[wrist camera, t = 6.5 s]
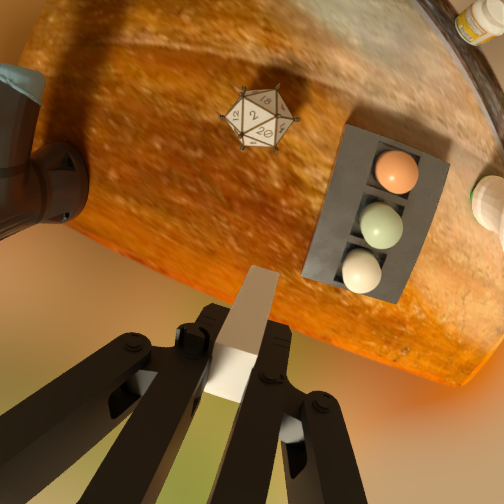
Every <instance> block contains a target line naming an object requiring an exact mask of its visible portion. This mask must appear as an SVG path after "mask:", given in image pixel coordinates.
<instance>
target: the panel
mask: <svg viewBox="0 0 504 504" xmlns="http://www.w3.org/2000/svg"><path fill="white" fill-rule="evenodd" d="M389 150H394V151H400V152H404V153H407V154H408V155H410V156H411V157H412V158H413V159H414V161H415V162H416V164H417V167H418V180H417V182H416V184H415V186H414V187H413V188H412V189H411V190H410V191H408V192H406V193H403V194H396V193H392V192H390V191H388V190H387V189H386V188H384V187H383V186H382V185H381V184H380V183H379V182H378V181H377V179H376V177H375V174H374V164H375V161H376V159H377V158H378V156H379V155H380V154H381V153H383V152H385V151H389ZM449 167H450V164H449V163H447V162H445V161H443V160H441V159H438V158H436V157H434V156H432V155H429V154H427V153H425V152H422V151H420V150H417V149H415V148H413V147H410V146H408V145H405V144H403V143H400V142H397V141H395V140H392V139H389V138H387V137H384V136H381V135H379V134H376V133H373V132H370V131H367V130H364V129H361V128H358V127H355V126H352V125H349V124H345V125H344V126H343V130H342V134H341V138H340V141H339V145H338V149H337V152H336V156H335V160H334V163H333V167H332V170H331V174H330V177H329V181H328V184H327V188H326V191H325V194H324V198H323V201H322V205H321V208H320V211H319V215H318V218H317V221H316V224H315V228H314V231H313V234H312V237H311V240H310V243H309V247H308V250H307V253H306V256H305V259H304V262H303V266H302V273H301V276H302V277H306V278H309V279H312V280H316V281H319V282H322V283H326V284H329V285H332V286H336V287H339V288H343V289H346V290H349V289H348V288H347V287H346V285H345V283H344V280H343V273H342V261H343V258H344V257H345V255H346V254H347V253H348V252H350V251H351V250H353V249H356V248H364V249H367V250H369V251H371V252H372V253H373V254H374V255H375V257H376V259H377V261H378V264H379V266H380V269H381V280H380V282H379V284H378V285H377V286H376V287H375V288H374V289H373V290H371V291H370V292H367V293H359V294H363V295H366V296H370V297H373V298H376V299H380V300H383V301H386V302H390V303H393V304H397V302H398V300H399V298H400V296H401V294H402V292H403V290H404V288H405V285H406V283H407V281H408V279H409V277H410V274H411V272H412V270H413V267H414V265H415V263H416V260H417V258H418V256H419V253H420V251H421V248H422V246H423V243H424V241H425V238H426V236H427V233H428V230H429V228H430V225H431V222H432V220H433V217H434V214H435V211H436V208H437V206H438V203H439V200H440V197H441V194H442V190H443V187H444V184H445V181H446V178H447V174H448V171H449ZM374 202H383V203H386V204H388V205H389V206H390V207H391V208H392V209H393V210H394V211H395V212H396V213H397V214H398V215H399V216H400V218H401V220H402V223H403V232H402V235H401V238H400V239H399V241H398V242H397V243H396V244H395V245H393V246H392V247H390V248H387V249H377V248H374V247H372V246H371V245H369V244H368V243H367V241H366V240H365V238H364V236H363V233H362V231H361V229H360V225H359V218H360V214H361V212H362V211H363V209H364V208H365V207H366V206H367V205H369V204H371V203H374ZM349 291H351V290H349Z"/></svg>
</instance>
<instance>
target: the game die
mask: <svg viewBox="0 0 504 504" xmlns="http://www.w3.org/2000/svg"><path fill="white" fill-rule="evenodd" d="M279 87H280V83H279V84H276V86H275V89H258V90H246V87H244V86H242V90H243V91H244V92H243V93H242V92H239V96H240V97H239V98H238V100H237V101H236V102H235V103H234V105H233V106H232V107H231V109H230V110H229V111H228V113H227V114H226V115H225V116H223V115H220V116H219V117H218V118H219V119H226V121H227V122H228V124H229V125H230V127H231V128H232V130H233V131H234V133H235V134H236V136H237V137H238V139H239V140H240V142H241V143H242V146H241V147H240V151H242V150H244V148H245V146H258V147H273V148H274V149H273V150H274V152H276V153H278V150H279V149H277V147H276V145H277V144H278V142H279V141H280V140H281V138H282V137H283V135H284V134H285V132H286V131H287V130H288V128H289V127H290V125H291V124H292V123H293V121H296V122H297V121H298V122H299V121H300V120H301V119H300V118H299V117H298V118H297V117H296V118H294V117H293V115H292V114H291V112H290V110H289V109H288V107H287V105H286V103H285V102H284V100H283V98H282V97H281V95H280V93H279V92H278V89H279Z"/></svg>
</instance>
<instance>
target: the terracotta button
mask: <svg viewBox="0 0 504 504" xmlns="http://www.w3.org/2000/svg"><path fill="white" fill-rule="evenodd" d="M374 174H375V177H376V179H377V181H378V182H379V183H380V184H381V185H382V186H383V187H384V188H386V189H387V190H388V191H390V192H392V193H396V194H403V193H406V192H408V191H410V190H411V189H412V188H413V187H414V186H415V184H416V182H417V180H418V167H417V164H416V162H415V161H414V159H413V158H412V157H411V156H410V155H408V154H407V153H404V152H400V151H394V150H389V151H385V152H383V153H381V154H380V155H379V156H378V158H377V159H376V161H375V164H374Z"/></svg>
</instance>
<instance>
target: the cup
mask: <svg viewBox="0 0 504 504" xmlns="http://www.w3.org/2000/svg"><path fill="white" fill-rule="evenodd" d="M470 199H471V204H472V211H473V213H474V217H475V219H476V221H477V222H478V223H480V224H481V225H482V226H484V227H485V228H487V229H489V230H491V231H494V232H495V233H496V234H497V235H498V236H499V238H500V241H501V245H502V248H503V250H504V178H502V177H499V176H493V175H491V176H484V177H482V179H481V180H480V182H479V183H478V184H477V186H476V188H475V189H474V190H473V192H472V193H471V195H470Z"/></svg>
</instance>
